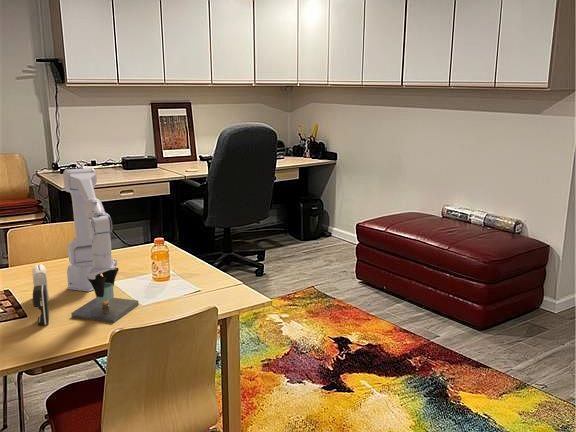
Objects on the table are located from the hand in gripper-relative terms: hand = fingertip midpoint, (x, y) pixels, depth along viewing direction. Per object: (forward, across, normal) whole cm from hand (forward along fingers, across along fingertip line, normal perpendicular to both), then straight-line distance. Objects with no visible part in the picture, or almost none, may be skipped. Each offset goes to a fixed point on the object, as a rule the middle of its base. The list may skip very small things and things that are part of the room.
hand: (104, 293), depth 177 cm
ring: (+1, 0, 0) cm, 1 cm away
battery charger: (+6, -12, +15) cm, 20 cm away
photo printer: (+6, +4, +26) cm, 27 cm away
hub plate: (+6, 0, 0) cm, 6 cm away
